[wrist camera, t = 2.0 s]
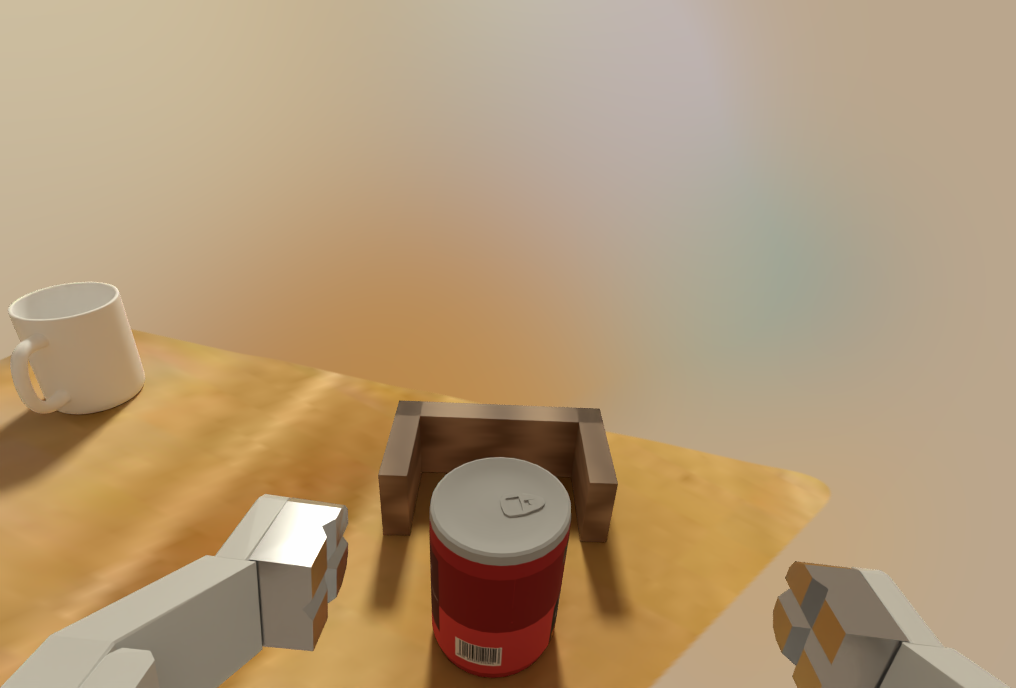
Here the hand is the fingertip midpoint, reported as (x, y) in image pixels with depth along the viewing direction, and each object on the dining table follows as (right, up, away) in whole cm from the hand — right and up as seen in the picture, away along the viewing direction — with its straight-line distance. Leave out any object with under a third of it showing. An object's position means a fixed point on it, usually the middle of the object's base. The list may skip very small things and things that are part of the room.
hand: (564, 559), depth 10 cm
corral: (-2, -9, +37) cm, 38 cm away
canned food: (-2, -15, +27) cm, 30 cm away
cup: (-42, -2, +45) cm, 61 cm away
